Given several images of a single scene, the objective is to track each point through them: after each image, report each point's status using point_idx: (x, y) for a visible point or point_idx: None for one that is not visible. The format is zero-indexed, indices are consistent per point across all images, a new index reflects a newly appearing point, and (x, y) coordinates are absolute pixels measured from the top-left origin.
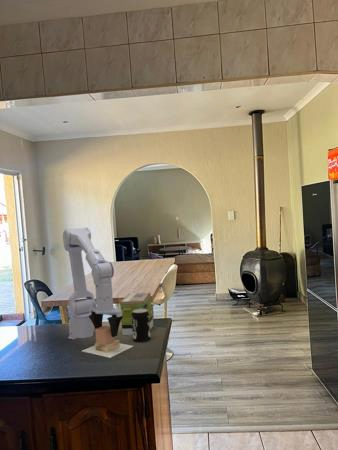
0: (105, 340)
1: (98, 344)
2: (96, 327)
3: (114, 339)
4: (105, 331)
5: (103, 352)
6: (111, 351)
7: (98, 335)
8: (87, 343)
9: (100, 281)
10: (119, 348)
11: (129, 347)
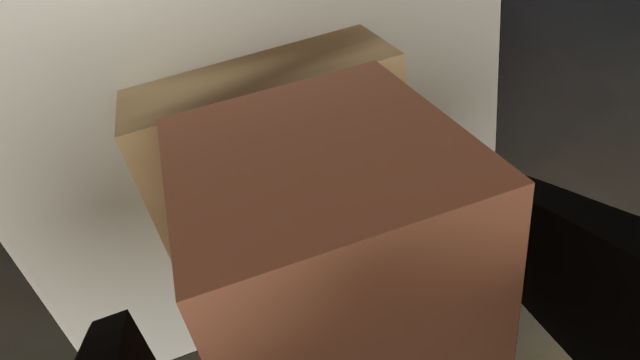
0: (162, 168)
1: (324, 70)
2: (597, 248)
3: None
4: (185, 310)
5: (175, 50)
6: None
7: (369, 141)
8: (635, 98)
9: None
10: (152, 258)
11: None
